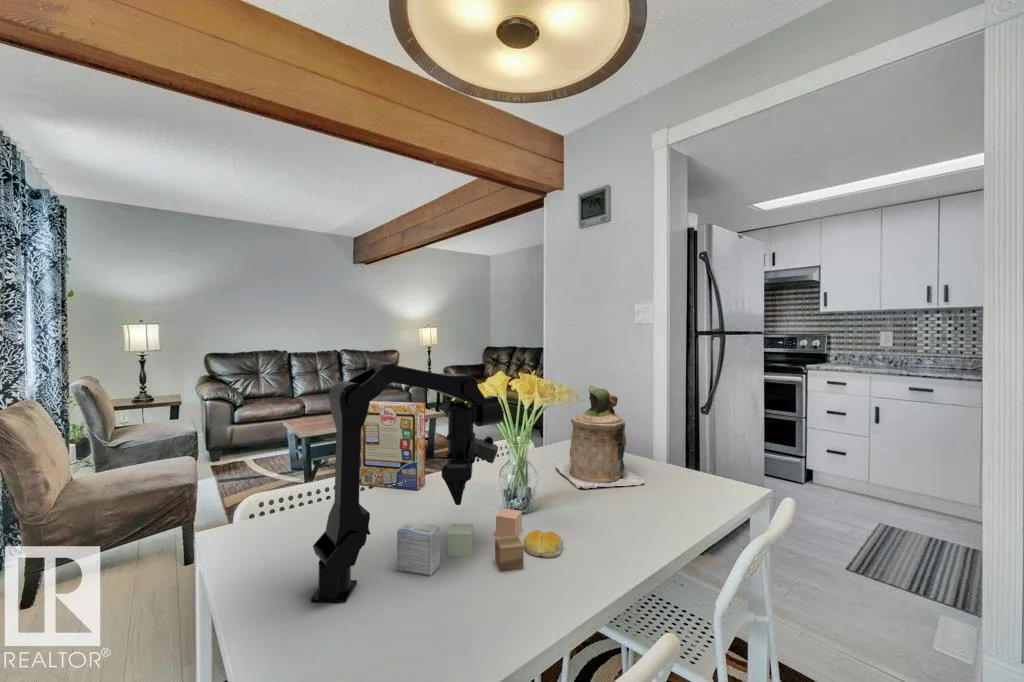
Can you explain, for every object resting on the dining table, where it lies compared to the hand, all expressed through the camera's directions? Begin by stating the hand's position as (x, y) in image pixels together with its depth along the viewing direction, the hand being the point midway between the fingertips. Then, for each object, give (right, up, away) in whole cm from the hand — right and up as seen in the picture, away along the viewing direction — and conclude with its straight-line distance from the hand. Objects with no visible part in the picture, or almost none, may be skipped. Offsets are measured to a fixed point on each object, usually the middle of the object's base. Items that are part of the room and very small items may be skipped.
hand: (460, 497), depth 100 cm
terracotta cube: (+11, -12, +9) cm, 19 cm away
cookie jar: (+42, -12, +54) cm, 70 cm away
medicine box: (-8, -12, -8) cm, 17 cm away
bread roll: (+19, -13, +1) cm, 23 cm away
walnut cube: (+11, -12, -6) cm, 18 cm away
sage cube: (0, -12, 0) cm, 12 cm away
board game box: (-27, -12, +43) cm, 52 cm away
